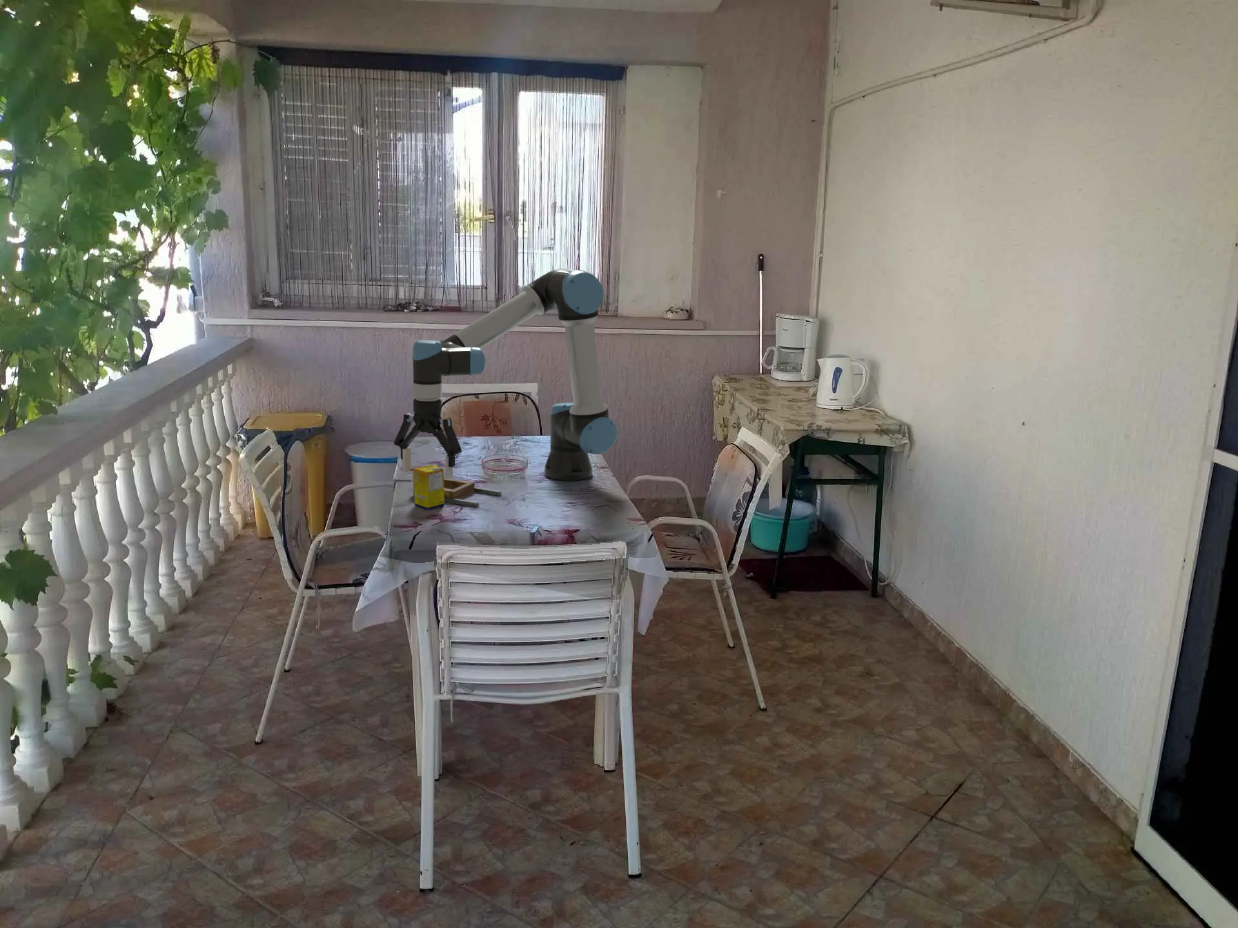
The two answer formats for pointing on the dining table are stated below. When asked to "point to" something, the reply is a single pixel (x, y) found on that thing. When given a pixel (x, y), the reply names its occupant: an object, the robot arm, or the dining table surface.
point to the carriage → (458, 488)
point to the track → (466, 502)
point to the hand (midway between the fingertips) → (427, 474)
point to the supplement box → (429, 487)
